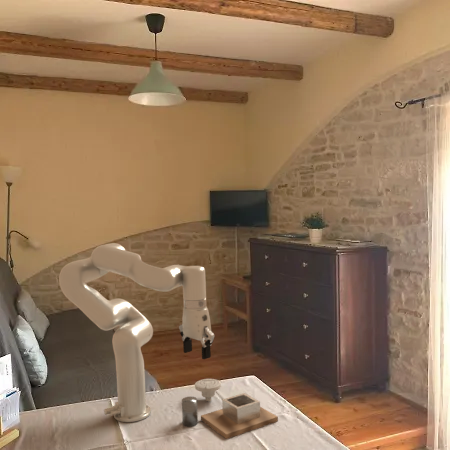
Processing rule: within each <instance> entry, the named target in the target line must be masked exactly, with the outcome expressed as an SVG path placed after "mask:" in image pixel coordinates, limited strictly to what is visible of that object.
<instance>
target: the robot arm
mask: <svg viewBox="0 0 450 450" xmlns="http://www.w3.org/2000/svg"><path fill="white" fill-rule="evenodd" d="M108 273H113V274H116V275H120V276H123V277H126V278H129V279H131V280H132V281H133V282H135V283H136V284H138V285H139V286H142V287H145V288H147V289H151V290H154V291H158V292H164V293H166V292H171V291H173V290H174V289H176V288H177V289H178V288H179V287H182V296H183V297H182V298H183V300H182V302H183V309H182V321H181V322H182V324H180V325H179V326H178V329H179V332H180V336H181V340H182V341H183V343H182V344H183V353H184V354H187V353H190V352H192V351H193V340H197V341H200V343H201V345H202V347H201V359H202V360H206V359H209V358H211V357H212V355H211V352H212V351H211V346H212V344H213V343H214V340H215V339H214V338H215V334H214V332H213V331H212V325H211V317H210V313H209V312H210V311H209V308H208V306H207V305H208V304H207V283H206V282H207V281H206V269H205V267H203V266H200V265H189V266H187V265H182V264H172V265H168V266H166V267H163V268H162V267H159V266H154V265H151V264H148V263H146V262H145V261H143V260H142V257H141V255H140V254H139V253H136V252H132V251H130V250H129V251H128V250H126V248H125V247H124V246H122V245H121V244H120V243H117V242H116V243H115V242H112V243H106V244H100V245H98V246H97V247H95V248H94V249H93V250H92V252H91V255H90V256H89V257H86V258H83V259H78V260H73V261H71V262H69V263H67V264H64V265H63V267H62V268H61V269H60V272H59V275H58V284H59V288H60V290H61V292H62V294H63V295H64V296H65V298H66V299H67V300H69V302H71V303H72V304H73V305H75V306H76V307H77V308H78V309H79V310H80V311H81V312H82V313H83V314H84V315H85V316H86V317H87V318H88V319H89V320H90V321H91V322H92V323H93V324H94V325H96V326H97V327H98V328H99V329H100V330H102V331H110V330H114V329H115V328H117V327H118V328H117V329H116V330H115V331H114V333H113V335H112V342H111V343H112V349H113V354H114V360H115V371H116V373H115V374H116V391H117V401H115V402H114V403H115V404H114V405H113V406H112V407H107V408H104V409H103V414H104V415H106V416H107V415H110V416H111V417H112V416H113V417H114V419H115V420H116V421H119V422H122V423H134V422H139V421H142V420H145V419H146V418H148V417H149V416H150V415H151V412H152V410H151V409H152V408H151V406H149V405H147V398H146V397H147V396H146V374H145V371H146V370H145V361H144V356H143V353H142V350H141V348H142V347H143V346H144V345H146V344H147V343H148V342H149V341H150V340H152V338H153V335H154V327H153V326H152V323H151V322H150V321H149V319H147V318H146V316H144V315H143V314H142V313H141V312H140V310H138V309H137V308H136V307H135V306H134V305H132V303H130V302H129V301H128V300H125V299H123V298H112V299H110V300H109V299H107V298H105V296H103V294H101V292H99V291H98V290H97V289H95V288H94V287H91V286H89V285H88V284H87V283H90V282H94V281H96V280H98V279H100V278H102V277H104V276H105V275H107V274H108ZM192 339H193V340H192Z"/></svg>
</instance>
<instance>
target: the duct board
mask: <svg viewBox="0 0 450 450" xmlns="http://www.w3.org/2000/svg"><path fill="white" fill-rule="evenodd" d="M221 404H222V406H221V407H222V409H218V410H214V411H211V412H208V413H204V414H202V415H201V414H200V421H202V422H203V423H204V424H206V425H207V426H208V427H209V428H211V429H212V430H214V431H215V432H216V433H217V434H220V435H221V436H222V437H223V438H225V439H226V440H228V439H230V438H234V437H236V436H239V435H242V434H245V433H248V432H252V431H253V430H257V429H259V428H262V427H265V426H268V425H270V424H274V423H276V422H278V421H279V418H278V417H279V416H278V415H275V414H274V413H272V412H271V411H268V410H266V409H265V408H264V407H263V406H261V401H260V400H258V399H257V398H254V397H252V396H250V395H248V394H247V393H246V392H245V393H244V392H243V393H239V394H237V395H233V396H229V397H225V398H223V399H222V400H221Z"/></svg>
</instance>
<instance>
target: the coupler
mask: <svg viewBox="0 0 450 450" xmlns="http://www.w3.org/2000/svg"><path fill="white" fill-rule="evenodd" d="M181 413H182V414H181V416H182V417H181V418H182V426H184V427H187V428H192V427H196V426H198V424H199V418H198V417H199V416H198V415H199V414H198V398H197V397H195V396H185V397H183V398H181Z"/></svg>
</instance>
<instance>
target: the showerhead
mask: <svg viewBox="0 0 450 450" xmlns="http://www.w3.org/2000/svg"><path fill="white" fill-rule="evenodd" d="M221 384H222V383H221V381H220V380H218V379H216V378H215V379H214V378H210V377H209V378H204V379H200V380H198V381H196V382H195V383H194V388H195V390H196V391H199V392H200V393H201V396H202V397H203V398H204V399H205V401H206V402H212V398H213V397H214V396H215V395H216V392H217V391H218V390H220V389H221V387H222V385H221Z"/></svg>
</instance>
